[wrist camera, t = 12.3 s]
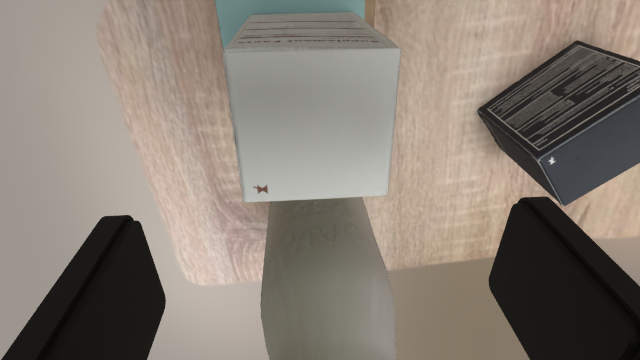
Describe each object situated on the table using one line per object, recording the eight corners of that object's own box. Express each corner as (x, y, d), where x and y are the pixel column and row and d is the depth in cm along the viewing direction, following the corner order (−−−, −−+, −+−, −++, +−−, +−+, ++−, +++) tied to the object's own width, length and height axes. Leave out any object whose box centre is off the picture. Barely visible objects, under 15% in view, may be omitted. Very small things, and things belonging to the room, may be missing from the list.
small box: (502, 153, 40) (563, 212, 31) (474, 109, 37) (533, 160, 28) (600, 90, 37) (699, 135, 28) (578, 37, 34) (681, 68, 25)
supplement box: (352, 111, 29) (389, 202, 18) (257, 114, 29) (238, 207, 18) (357, 8, 26) (407, 46, 15) (247, 9, 25) (216, 48, 14)
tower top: (222, -12, 27) (213, -7, 24) (357, -18, 28) (365, -15, 25) (242, 116, 33) (237, 133, 30) (355, 109, 33) (362, 125, 30)
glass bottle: (284, 238, 44) (275, 580, 20) (259, 164, 38) (207, 511, 15) (367, 221, 43) (459, 552, 20) (353, 144, 38) (458, 469, 14)
